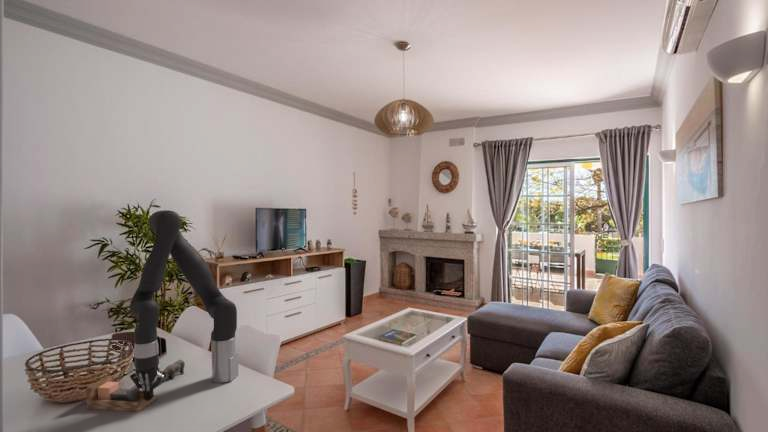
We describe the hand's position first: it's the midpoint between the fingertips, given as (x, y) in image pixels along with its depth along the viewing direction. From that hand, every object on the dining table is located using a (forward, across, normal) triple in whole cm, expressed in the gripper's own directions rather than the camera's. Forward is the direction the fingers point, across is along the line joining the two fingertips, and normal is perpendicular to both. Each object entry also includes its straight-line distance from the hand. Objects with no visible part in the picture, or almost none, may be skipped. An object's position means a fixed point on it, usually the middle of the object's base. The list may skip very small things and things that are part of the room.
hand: (148, 399), depth 145 cm
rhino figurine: (+2, -6, +20) cm, 21 cm away
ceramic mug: (+2, -30, +22) cm, 37 cm away
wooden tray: (+2, -10, -1) cm, 10 cm away
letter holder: (+2, -33, +36) cm, 49 cm away
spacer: (+1, -16, -1) cm, 16 cm away
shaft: (0, -9, -1) cm, 9 cm away
